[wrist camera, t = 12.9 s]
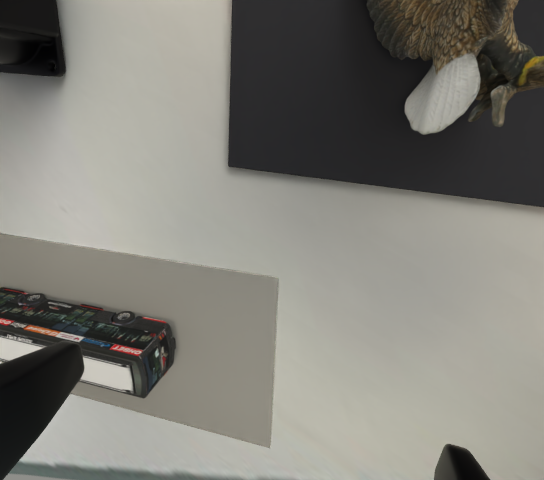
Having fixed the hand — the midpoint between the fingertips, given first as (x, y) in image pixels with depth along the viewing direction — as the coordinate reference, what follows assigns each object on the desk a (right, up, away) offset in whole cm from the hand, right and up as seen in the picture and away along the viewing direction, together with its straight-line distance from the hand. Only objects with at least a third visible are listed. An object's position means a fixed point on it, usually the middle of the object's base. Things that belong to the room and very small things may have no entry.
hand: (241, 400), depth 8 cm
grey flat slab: (-11, -3, +18) cm, 22 cm away
